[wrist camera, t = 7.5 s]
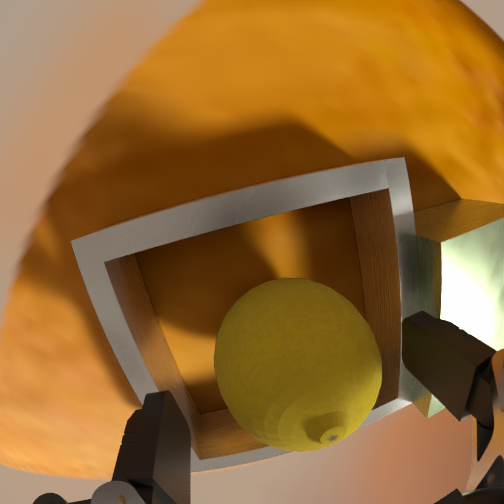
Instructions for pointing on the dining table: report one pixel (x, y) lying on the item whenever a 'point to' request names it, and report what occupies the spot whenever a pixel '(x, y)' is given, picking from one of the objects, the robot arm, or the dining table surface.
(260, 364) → the lemon
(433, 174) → the dining table surface
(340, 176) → the square open box
